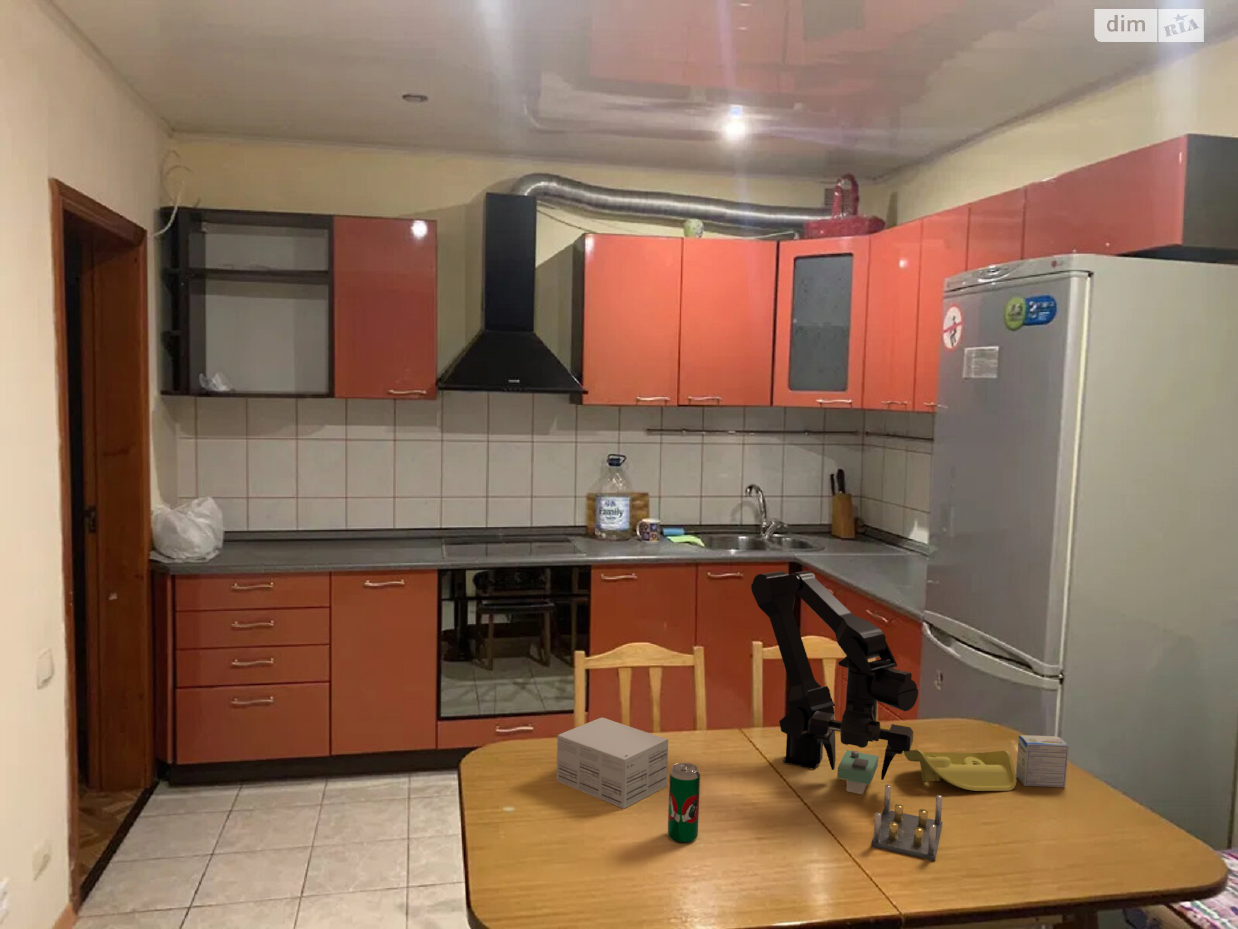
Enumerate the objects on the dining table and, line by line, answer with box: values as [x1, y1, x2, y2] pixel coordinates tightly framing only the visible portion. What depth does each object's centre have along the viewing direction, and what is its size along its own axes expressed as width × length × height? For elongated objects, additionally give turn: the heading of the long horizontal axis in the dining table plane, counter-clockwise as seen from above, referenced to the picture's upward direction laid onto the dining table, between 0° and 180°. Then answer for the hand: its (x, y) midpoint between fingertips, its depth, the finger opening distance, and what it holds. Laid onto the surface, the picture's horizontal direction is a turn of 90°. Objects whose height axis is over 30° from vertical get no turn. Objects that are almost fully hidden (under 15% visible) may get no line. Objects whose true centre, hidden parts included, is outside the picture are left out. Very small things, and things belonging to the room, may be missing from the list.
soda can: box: [667, 762, 701, 844], centre depth 151 cm, size 5×5×12 cm
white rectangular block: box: [845, 780, 868, 795], centre depth 172 cm, size 3×5×3 cm, turn 156°
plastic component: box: [903, 749, 1017, 792], centre depth 176 cm, size 20×7×10 cm
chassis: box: [871, 784, 943, 862], centre depth 154 cm, size 10×13×6 cm
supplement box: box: [555, 716, 669, 809], centre depth 170 cm, size 17×13×9 cm
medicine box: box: [1015, 734, 1070, 788], centre depth 176 cm, size 8×4×9 cm, turn 88°
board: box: [836, 749, 879, 785], centre depth 172 cm, size 6×9×3 cm, turn 156°
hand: (857, 774), depth 172 cm, fingers open, 9 cm apart
